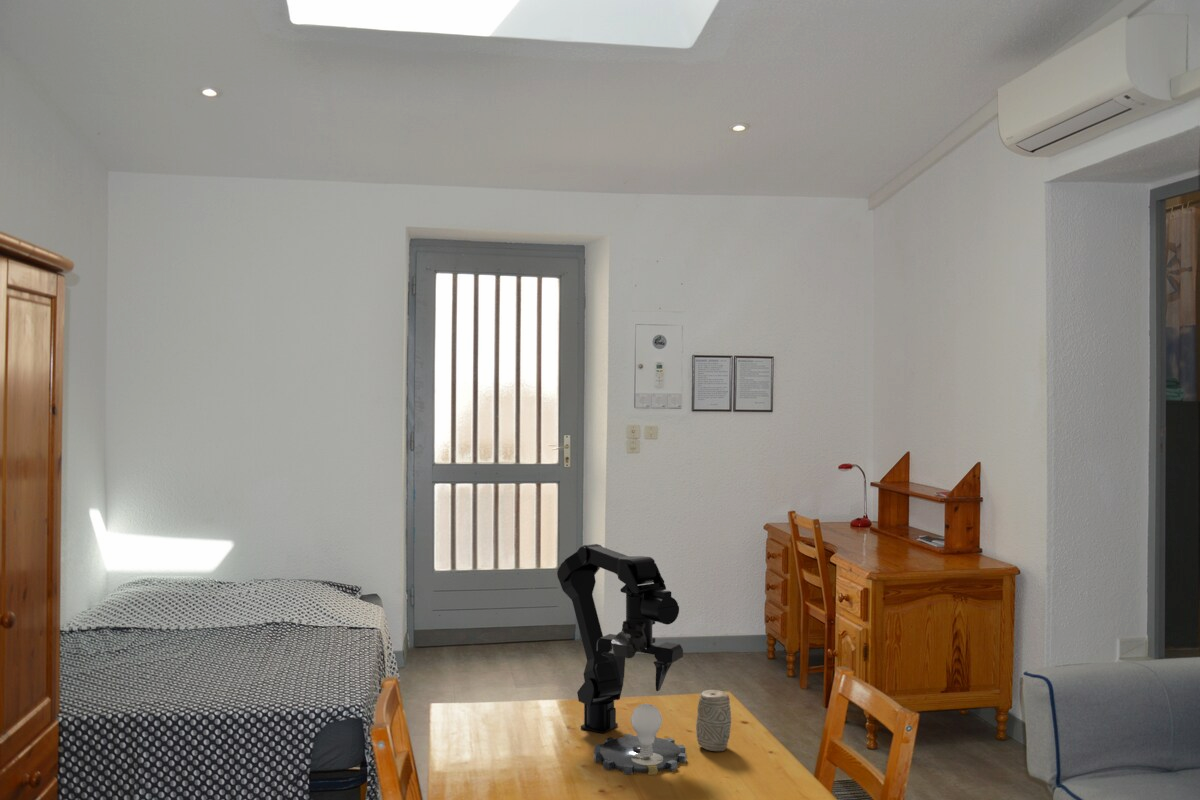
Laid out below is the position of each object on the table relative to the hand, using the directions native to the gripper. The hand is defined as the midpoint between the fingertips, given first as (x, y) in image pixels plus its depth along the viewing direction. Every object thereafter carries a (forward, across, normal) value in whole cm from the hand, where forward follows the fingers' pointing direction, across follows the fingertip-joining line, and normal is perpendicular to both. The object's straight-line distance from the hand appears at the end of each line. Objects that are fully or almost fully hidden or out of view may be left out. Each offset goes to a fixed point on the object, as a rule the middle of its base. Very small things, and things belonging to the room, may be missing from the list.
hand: (639, 687), depth 212 cm
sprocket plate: (+13, +3, -5) cm, 14 cm away
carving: (+13, +14, +8) cm, 21 cm away
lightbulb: (+11, +7, -9) cm, 16 cm away
